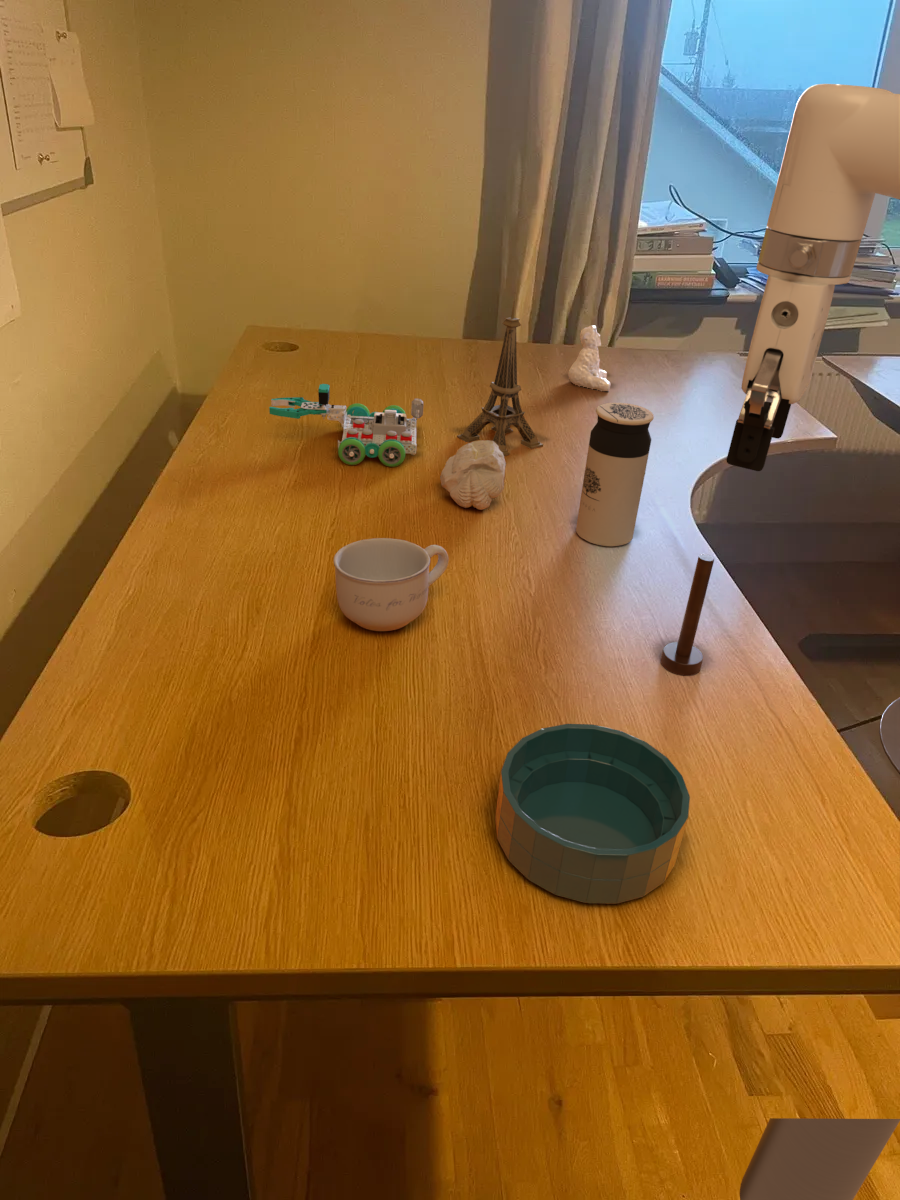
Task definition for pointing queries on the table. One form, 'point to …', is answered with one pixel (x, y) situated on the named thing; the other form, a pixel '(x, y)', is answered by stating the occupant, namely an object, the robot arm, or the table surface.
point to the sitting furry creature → (589, 362)
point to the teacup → (385, 581)
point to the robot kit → (361, 427)
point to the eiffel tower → (504, 398)
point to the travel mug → (614, 474)
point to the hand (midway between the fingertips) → (754, 450)
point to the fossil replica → (475, 474)
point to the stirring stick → (690, 625)
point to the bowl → (591, 813)
